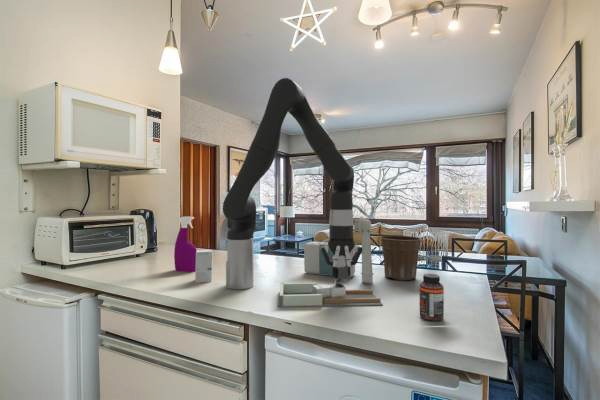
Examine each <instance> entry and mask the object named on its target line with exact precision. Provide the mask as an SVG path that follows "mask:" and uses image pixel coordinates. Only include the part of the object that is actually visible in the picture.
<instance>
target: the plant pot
mask: <svg viewBox="0 0 600 400" xmlns="http://www.w3.org/2000/svg"><path fill="white" fill-rule="evenodd" d="M379 239H380V241H381V242H380V243H381V248H382V254H383V267H384V269H383V270H384V276H385V277H386V278H388V279H391V278H392V279H393V280H397V281H411V280H415V279H416V278H417V272H418V271H417V268H418V260H419V252H420V248H421V244H422V243H421V242H422V241H423V238H421V237H417V236H411V235H410V236H408V235H381V236H379Z"/></svg>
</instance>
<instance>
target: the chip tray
mask: <svg viewBox="0 0 600 400" xmlns="http://www.w3.org/2000/svg"><path fill="white" fill-rule="evenodd" d="M318 284H319V283H318V282H282V283H281V282H280V284H279V286H280V287H279V292H280V306H315V305H322V294H300V295H283V293H312V285H318Z"/></svg>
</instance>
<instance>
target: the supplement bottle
mask: <svg viewBox="0 0 600 400" xmlns="http://www.w3.org/2000/svg"><path fill="white" fill-rule="evenodd" d="M422 276H423V278H422V279H423V280H422V281H421V282H420V283H419V315H420V317H421V318H422V319H424V320H427V321H432V322H439V321H442V320H444V315H445V313H444V309H445V308H444V304H445V302H444V301H445V300H444V299H445V298H444V297H445V295H444V294H445V292H444V290H445V289H444V285H443V284H442V283H441V282H440V281H441V278H440V275H438V274H436V273H424V274H423V275H422Z"/></svg>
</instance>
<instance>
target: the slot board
mask: <svg viewBox="0 0 600 400" xmlns="http://www.w3.org/2000/svg"><path fill="white" fill-rule="evenodd" d="M373 292H374V290H373V289H345V298H324V301H322V305H315V306H280V291H278V300H277V307H278V308H319V307H320V308H321V307H322V308H324V307H326V308H327V307H334V308H335V307H374V306H375V307H377V306H378V307H379V306H380V307H383V305H384V304H383V303H382V302H381V301H382V300H381V298H380V297H377V296H376V295H375V294H374V293H373ZM300 294H312V293H283V295H300Z"/></svg>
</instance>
